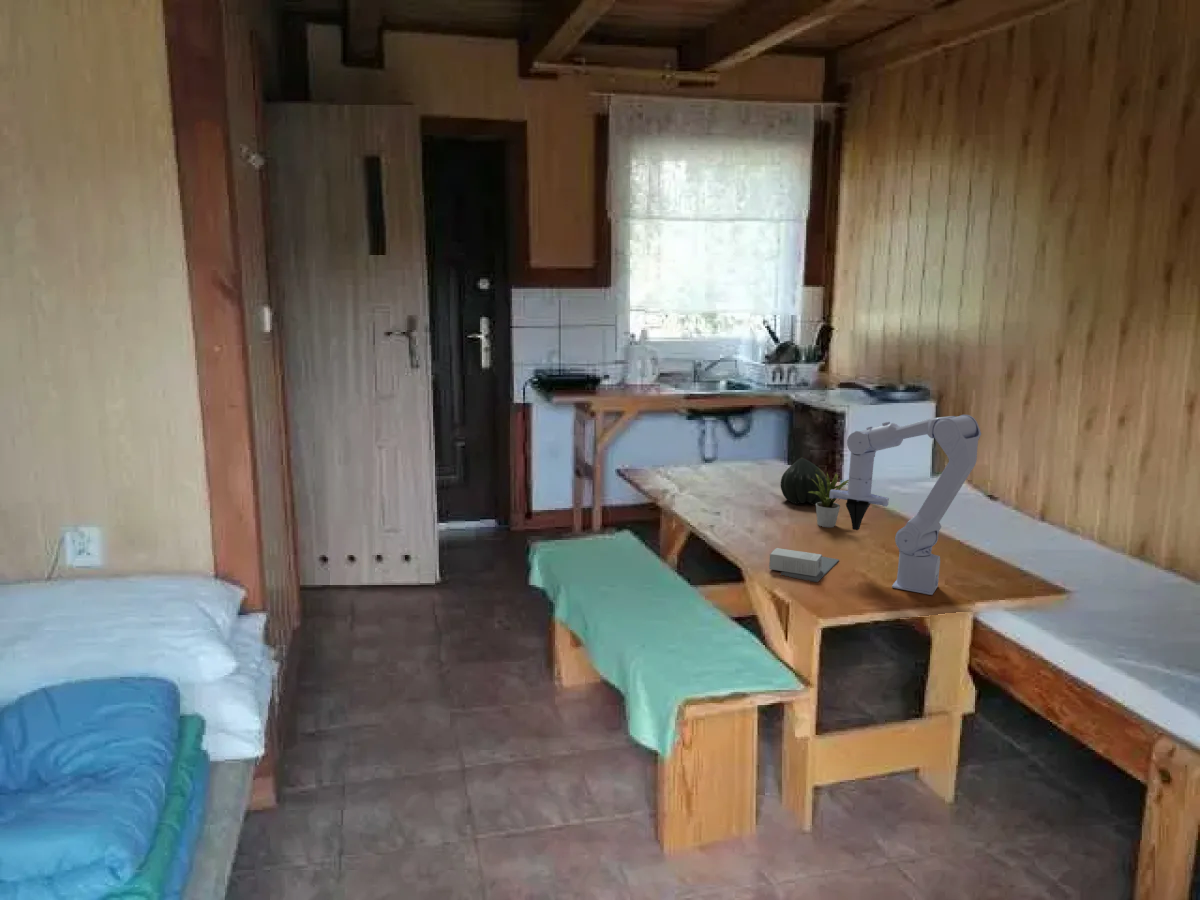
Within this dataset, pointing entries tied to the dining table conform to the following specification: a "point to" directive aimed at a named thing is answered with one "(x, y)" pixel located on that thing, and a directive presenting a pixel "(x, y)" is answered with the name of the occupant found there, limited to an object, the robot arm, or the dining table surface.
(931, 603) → the dining table surface
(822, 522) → the house plant
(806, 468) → the squash
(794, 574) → the mat
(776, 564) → the skincare box
